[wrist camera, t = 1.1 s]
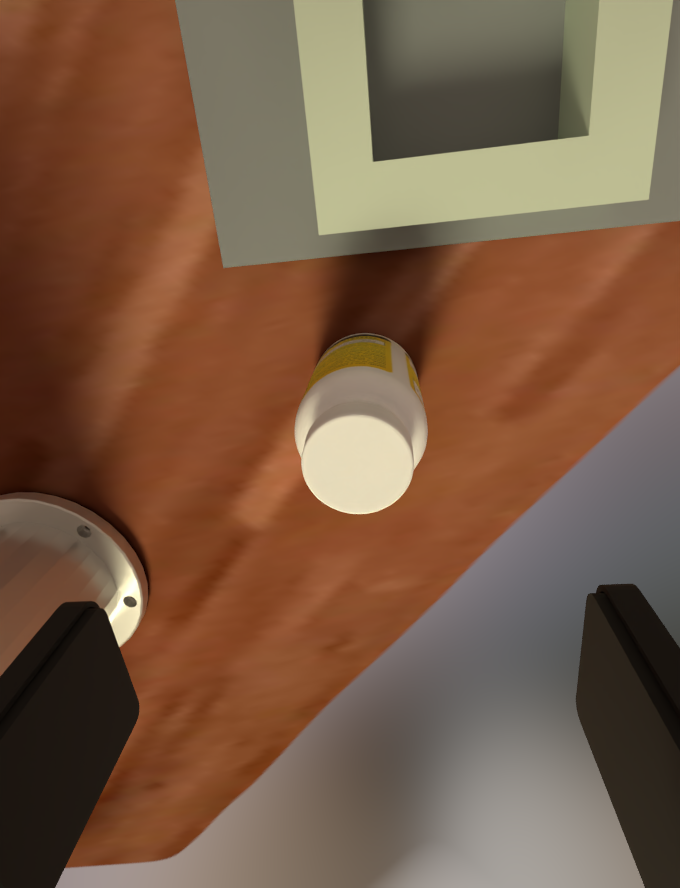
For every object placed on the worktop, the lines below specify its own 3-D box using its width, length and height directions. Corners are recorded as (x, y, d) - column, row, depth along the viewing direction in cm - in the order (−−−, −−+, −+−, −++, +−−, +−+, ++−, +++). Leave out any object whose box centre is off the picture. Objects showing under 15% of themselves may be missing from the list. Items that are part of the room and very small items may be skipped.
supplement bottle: (293, 388, 27) (250, 471, 18) (359, 308, 25) (346, 357, 16) (371, 449, 28) (366, 556, 19) (439, 377, 26) (469, 458, 17)
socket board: (792, -242, 17) (930, -397, 13) (714, 215, 23) (793, 214, 18) (162, -123, 19) (100, -219, 15) (230, 265, 25) (199, 275, 21)
